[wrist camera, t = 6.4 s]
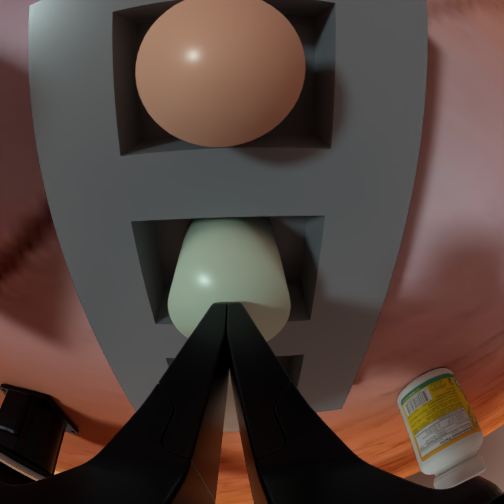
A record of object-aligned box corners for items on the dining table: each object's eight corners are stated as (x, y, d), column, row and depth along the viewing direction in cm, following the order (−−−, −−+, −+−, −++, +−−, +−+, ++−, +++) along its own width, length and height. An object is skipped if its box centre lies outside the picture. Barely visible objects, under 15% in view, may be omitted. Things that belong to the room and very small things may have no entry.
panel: (332, 375, 18) (341, 408, 16) (144, 380, 18) (137, 414, 15) (389, 3, 8) (425, -9, 5) (67, 14, 7) (30, 5, 5)
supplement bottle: (401, 378, 19) (442, 490, 11) (459, 357, 19) (507, 454, 11) (391, 410, 22) (420, 504, 14) (442, 391, 22) (477, 476, 14)
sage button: (273, 277, 13) (286, 348, 10) (190, 280, 13) (178, 351, 10) (276, 199, 11) (295, 257, 8) (180, 202, 11) (157, 261, 8)
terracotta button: (278, 122, 10) (303, 146, 6) (174, 126, 10) (141, 152, 6) (279, 24, 8) (305, -6, 5) (170, 28, 8) (134, 1, 4)
